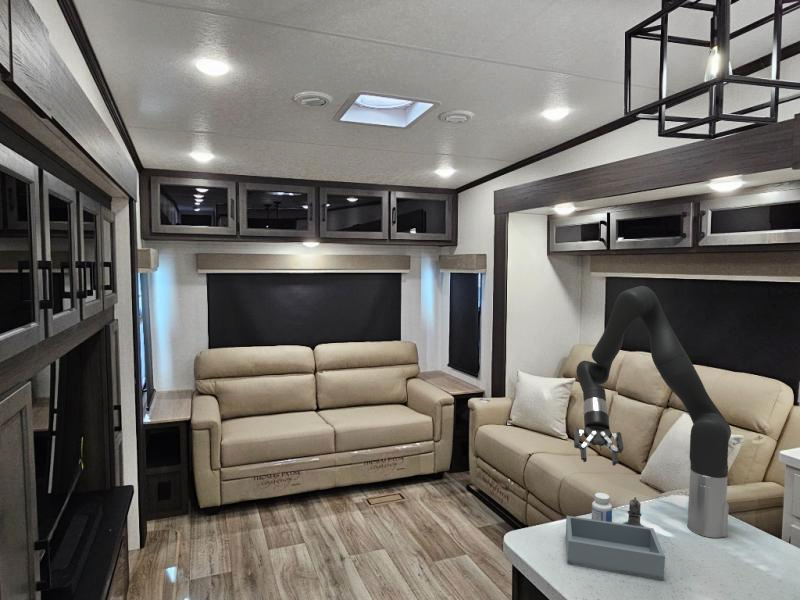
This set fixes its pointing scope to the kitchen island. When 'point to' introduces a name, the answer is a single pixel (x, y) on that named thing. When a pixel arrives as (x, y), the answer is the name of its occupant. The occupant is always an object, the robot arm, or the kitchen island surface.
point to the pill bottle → (602, 508)
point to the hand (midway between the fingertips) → (599, 462)
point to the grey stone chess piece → (634, 513)
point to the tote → (614, 547)
